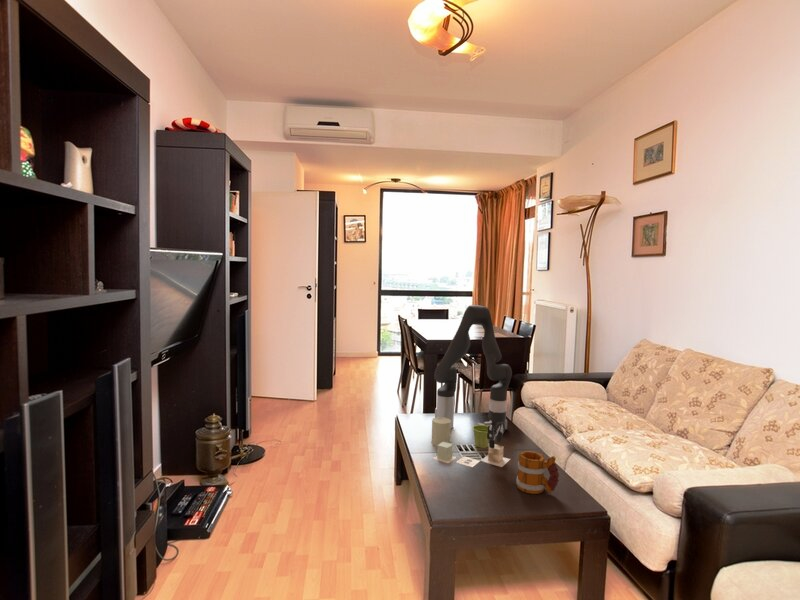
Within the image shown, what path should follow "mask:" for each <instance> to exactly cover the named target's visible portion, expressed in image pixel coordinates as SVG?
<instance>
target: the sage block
mask: <svg viewBox="0 0 800 600" xmlns="http://www.w3.org/2000/svg"><path fill="white" fill-rule="evenodd" d="M453 447H454V444H452V443H451V442H450V443H446V442H442V443H440V444H438V446H436V448H437V451H436V456H437V458H438V459H441V460H445V461H448V460H449V459H451V458H452V456H454V455H453V452H454V449H453Z"/></svg>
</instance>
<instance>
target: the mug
mask: <svg viewBox="0 0 800 600" xmlns="http://www.w3.org/2000/svg"><path fill="white" fill-rule="evenodd" d="M556 459H557V458H556V457H555V456H554V455H553V456H551V457H549V458H548V459H547V460H546V459H545V456H544V455H543V454H541V453H539V452H535V451H531V450H529V451H527V450H525V451H521V452H520V453H518V461H517V469H518V472H517V476H516V480H515V483H516V487H517V488H516V489H518V490H520V491H521V492H523V493H525V494H531V495H538V494H539V495H540V494H542V493H543V492H544V491H546V492H547V494H552V493H553V492H554V491H555V489H556V487H557V486H558V483H559V477H560V474H559V471H558V470H559V469H558V466H557V464H556ZM546 469H547V472H548V473H549V477H548V478H547V477H545V472H546Z"/></svg>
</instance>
